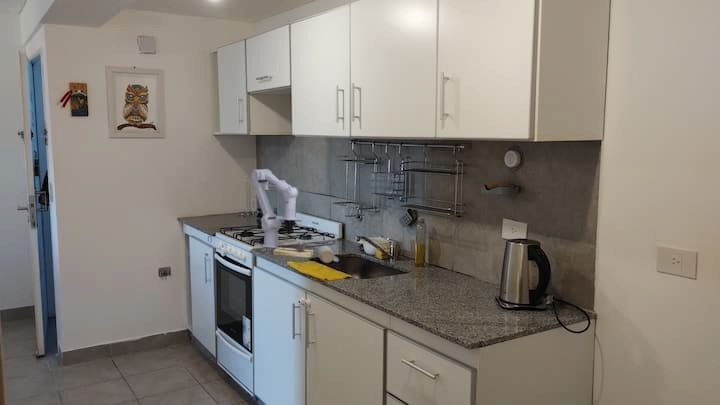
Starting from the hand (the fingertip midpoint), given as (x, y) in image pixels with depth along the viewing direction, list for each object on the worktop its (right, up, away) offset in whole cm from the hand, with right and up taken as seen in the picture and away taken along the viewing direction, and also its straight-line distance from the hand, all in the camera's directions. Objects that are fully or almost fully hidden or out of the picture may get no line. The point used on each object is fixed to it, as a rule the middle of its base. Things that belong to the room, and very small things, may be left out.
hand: (289, 234), depth 316 cm
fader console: (+3, -10, -5) cm, 12 cm away
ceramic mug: (+22, -14, -16) cm, 30 cm away
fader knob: (+7, -8, -6) cm, 12 cm away
